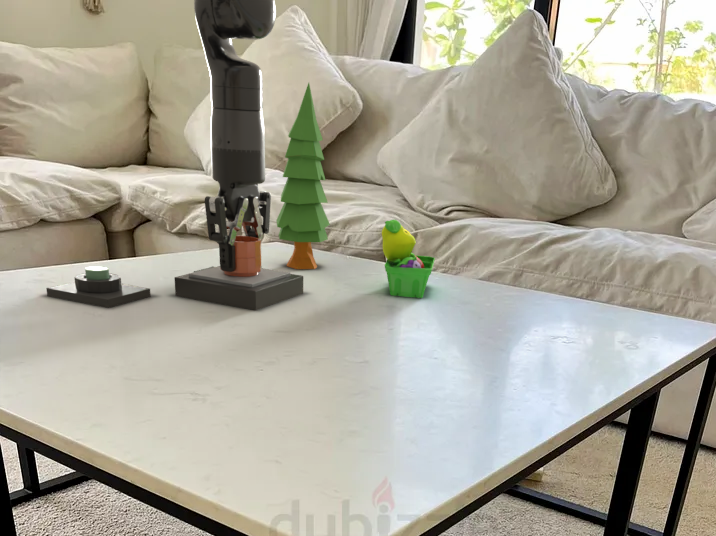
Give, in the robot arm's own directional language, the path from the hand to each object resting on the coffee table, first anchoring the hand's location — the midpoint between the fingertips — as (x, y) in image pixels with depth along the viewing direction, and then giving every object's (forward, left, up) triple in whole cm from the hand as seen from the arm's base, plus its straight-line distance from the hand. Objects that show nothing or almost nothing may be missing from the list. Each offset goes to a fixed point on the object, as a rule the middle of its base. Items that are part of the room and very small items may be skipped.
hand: (240, 267), depth 118 cm
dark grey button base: (-15, -14, -4) cm, 21 cm away
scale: (0, 0, -4) cm, 4 cm away
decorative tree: (-4, +26, -5) cm, 27 cm away
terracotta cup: (0, 0, -1) cm, 1 cm away
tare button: (-15, -14, -2) cm, 21 cm away
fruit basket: (+19, +20, -5) cm, 28 cm away
